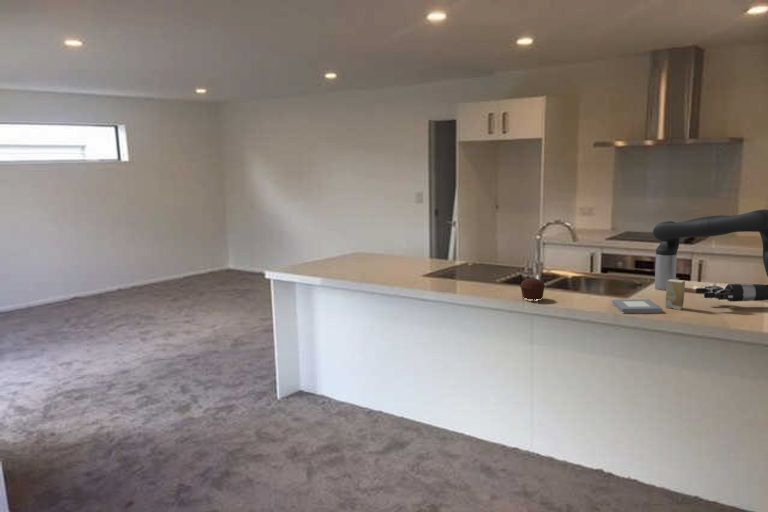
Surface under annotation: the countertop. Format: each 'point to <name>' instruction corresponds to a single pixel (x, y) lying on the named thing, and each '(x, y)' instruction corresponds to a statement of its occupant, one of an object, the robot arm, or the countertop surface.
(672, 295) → the skincare box
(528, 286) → the muffin
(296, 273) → the countertop surface
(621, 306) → the plate
